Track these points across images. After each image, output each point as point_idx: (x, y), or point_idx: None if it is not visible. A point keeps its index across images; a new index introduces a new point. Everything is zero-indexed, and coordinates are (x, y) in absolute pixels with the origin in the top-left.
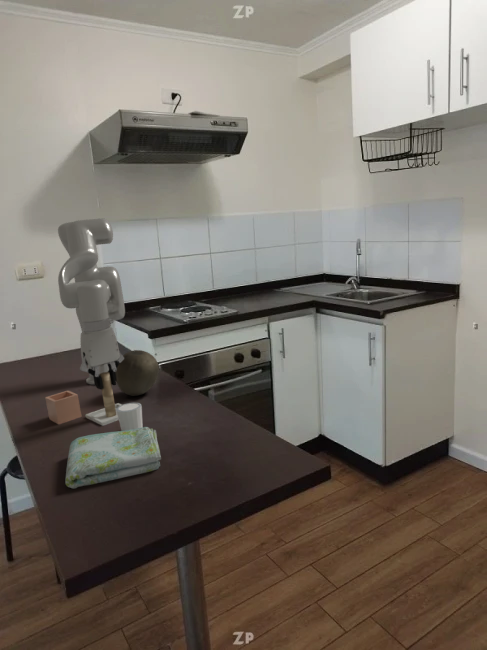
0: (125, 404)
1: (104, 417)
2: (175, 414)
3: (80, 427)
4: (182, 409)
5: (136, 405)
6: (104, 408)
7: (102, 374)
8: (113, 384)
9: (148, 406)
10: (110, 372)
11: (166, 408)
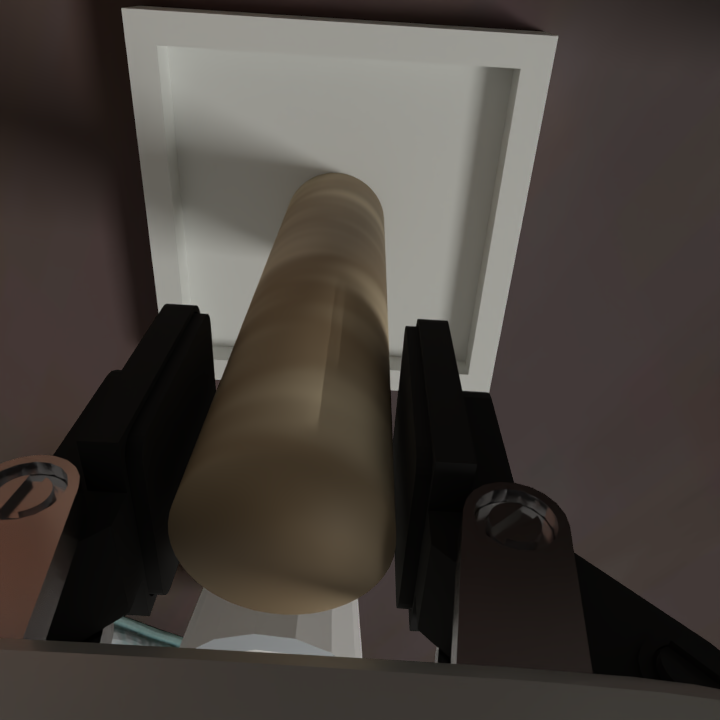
0: (280, 650)
1: (266, 211)
2: (604, 569)
3: (33, 169)
4: (696, 550)
5: None
6: (359, 43)
7: (222, 560)
8: (394, 447)
9: (677, 297)
10: (410, 564)
11: (681, 455)
